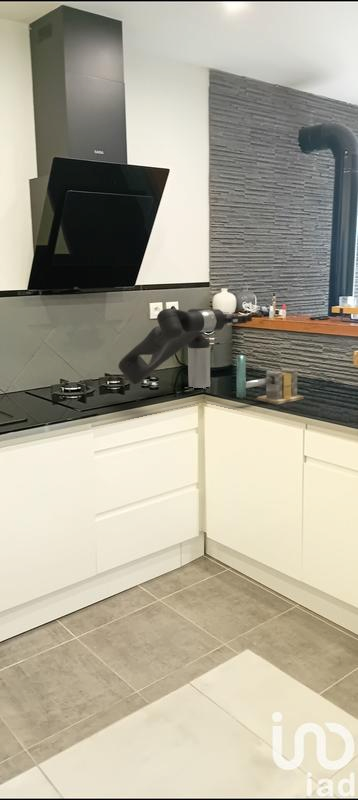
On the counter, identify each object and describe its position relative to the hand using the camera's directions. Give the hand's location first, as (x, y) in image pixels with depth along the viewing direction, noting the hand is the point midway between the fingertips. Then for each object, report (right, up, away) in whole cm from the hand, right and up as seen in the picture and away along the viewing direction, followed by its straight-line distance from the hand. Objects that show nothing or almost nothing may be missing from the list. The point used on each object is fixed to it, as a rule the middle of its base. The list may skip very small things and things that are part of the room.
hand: (243, 317), depth 227 cm
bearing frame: (+15, -30, +11) cm, 35 cm away
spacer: (+15, -29, +11) cm, 35 cm away
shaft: (+5, -28, +3) cm, 29 cm away
